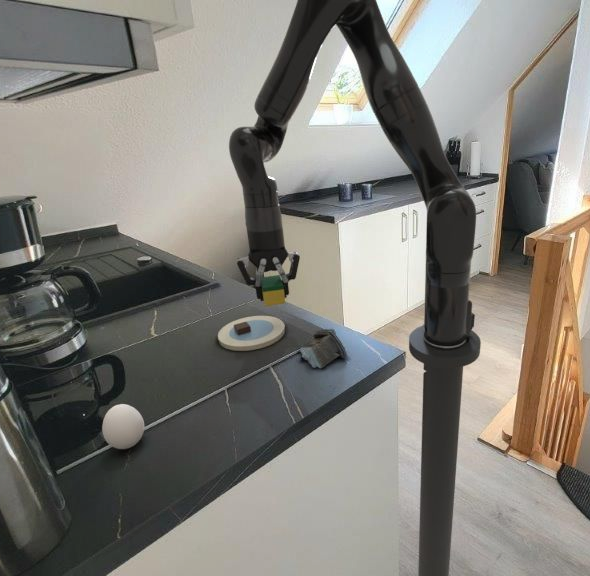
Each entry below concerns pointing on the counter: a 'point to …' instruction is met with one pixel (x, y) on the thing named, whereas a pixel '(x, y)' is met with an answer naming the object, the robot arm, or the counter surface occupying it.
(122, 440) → the egg
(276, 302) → the sponge
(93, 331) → the counter surface
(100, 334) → the counter surface
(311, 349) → the grey jagged block
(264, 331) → the plate
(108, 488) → the counter surface
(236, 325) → the crumb
